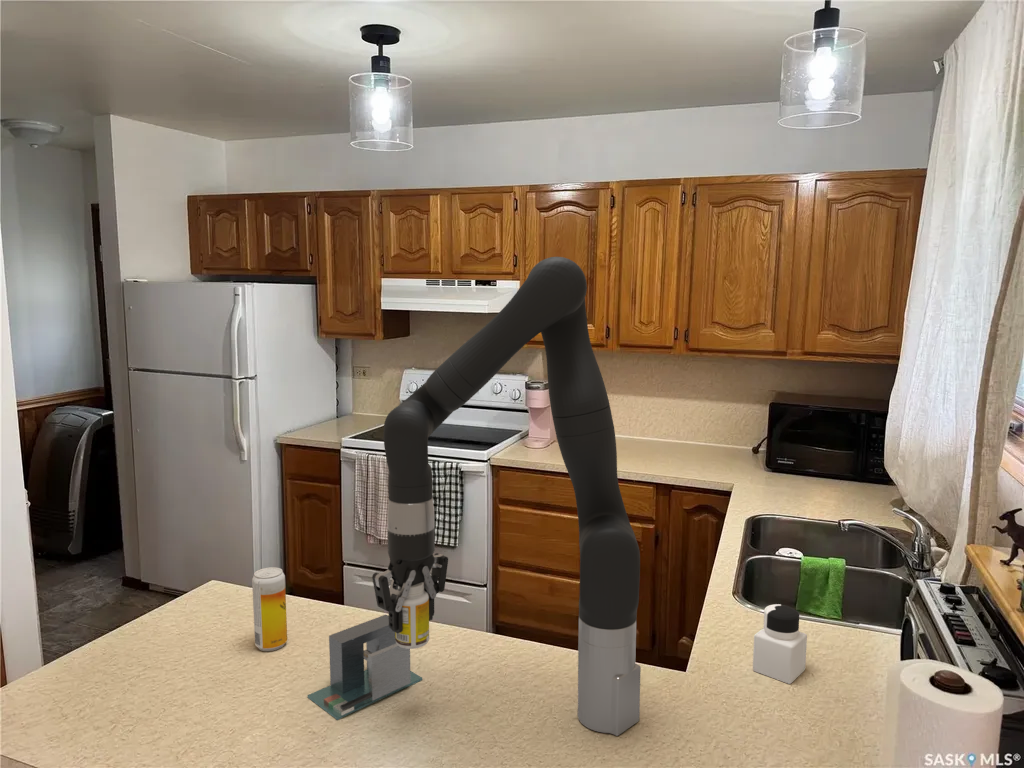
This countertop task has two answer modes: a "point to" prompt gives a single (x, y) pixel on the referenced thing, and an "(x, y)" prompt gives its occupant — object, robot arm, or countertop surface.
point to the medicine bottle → (780, 645)
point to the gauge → (354, 666)
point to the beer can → (269, 609)
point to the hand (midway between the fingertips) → (412, 624)
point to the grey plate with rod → (385, 672)
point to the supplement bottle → (414, 619)
